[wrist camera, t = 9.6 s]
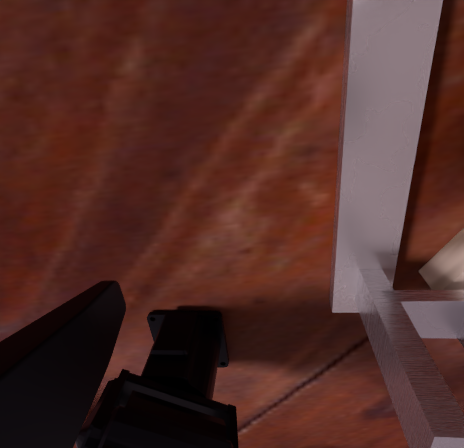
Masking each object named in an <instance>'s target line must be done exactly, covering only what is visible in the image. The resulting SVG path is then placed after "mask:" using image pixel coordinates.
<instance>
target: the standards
mask: <svg viewBox="0 0 464 448" xmlns="http://www.w3.org/2000/svg"><path fill="white" fill-rule="evenodd" d="M442 3H443V0H347V14H346V31H345V48H344V64H343V81H342V98H341V115H340V131H339V148H338V165H337V181H336V198H335V215H334V231H333V248H332V265H331V281H330V298H329V303H330V306H331V310H332V313H359V314H360V316H361V319H362V322H363V324H364V327H365V330H366V333H367V335H368V338H369V341H370V343H371V346H372V349H373V351H374V354H375V357H376V359H377V362H378V365H379V367H380V370H381V373H382V375H383V378H384V381H385V383H386V386H387V389H388V391H389V394H390V397H391V400H392V402H393V405H394V408H395V410H396V413H397V416H398V418H399V421H400V424H401V426H402V429H403V432H404V434H405V437H406V440H407V442H408V445H409V448H464V414H463V412H462V410H461V408H460V407H459V405H458V403H457V401H456V399H455V398H454V396H453V394H452V392H451V391H450V389H449V387H448V385H447V384H446V382H445V380H444V378H443V376H442V375H441V373H440V371H439V369H438V368H437V366H436V364H435V362H434V360H433V359H432V357H431V355H430V353H429V352H428V350H427V348H426V346H425V344H424V343H423V341H422V339H421V338H457V339H458V340H459V341H460V343H461V344H462V346H463V347H464V290H396V291H394V289H393V288H392V286H393V280H394V275H395V269H396V264H397V258H398V252H399V247H400V241H401V235H402V230H403V224H404V218H405V213H406V207H407V201H408V196H409V190H410V184H411V179H412V173H413V167H414V162H415V156H416V150H417V145H418V139H419V133H420V128H421V122H422V116H423V111H424V105H425V99H426V94H427V88H428V83H429V77H430V71H431V66H432V60H433V54H434V49H435V43H436V37H437V32H438V26H439V20H440V15H441V9H442Z"/></svg>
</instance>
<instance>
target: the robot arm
mask: <svg viewBox="0 0 464 448" xmlns="http://www.w3.org/2000/svg"><path fill="white" fill-rule="evenodd" d="M125 311H126V304H125V300H124V297H123V294H122V291H121V288H120V285H119V283H118V282H117V281H101V282H99V283H97V284H96V285H94V286H92V287H91V288H89V289H87V290H86V291H84V292H82V293H81V294H79V295H77V296H76V297H74V298H72V299H71V300H69V301H67V302H66V303H64V304H62V305H61V306H59V307H57V308H56V309H54V310H52V311H51V312H49V313H47V314H46V315H44V316H42V317H41V318H39V319H37V320H36V321H34V322H32V323H31V324H29V325H27V326H26V327H24V328H23V329H21V330H19V331H18V332H16V333H14V334H13V335H11V336H9V337H8V338H6V339H4V340H3V341H1V342H0V448H73V446H74V444H75V442H76V446H77V448H238V433H237V416H236V406H233V405H230V404H228V405H226V404H223V403H220V402H217V401H214V400H212V398H213V392H214V386H215V379H216V373H217V367H227V366H228V363H229V358H228V351H227V345H226V338H225V331H224V325H223V318H222V314H221V313H220V312H218V311H153V312H150V313H149V314H148V317H147V320H148V324H149V327H150V330H151V334H152V337H153V340H154V344H153V346H152V349H151V352H150V354H149V357H148V359H147V362H146V364H145V367H144V369H143V372H142V374H141V376H138V375H135V374H132V373H129V372H130V371H128V370H125V369H122V371H121V373H120V375H119V377H118V378H115V379H114V380H111V381H108V383H107V385H106V387H105V389H104V391H103V393H102V395H101V397H100V399H99V401H98V403H97V404H96V406H95V408H94V409H93V411H92V412H91V414H90V415H89V417H88V418H87V420H86V421H85V418H86V416H87V414H88V411H89V409H90V407H91V404H92V402H93V400H94V398H95V395H96V393H97V391H98V388H99V386H100V384H101V381H102V379H103V377H104V374H105V372H106V369H107V367H108V365H109V362H110V359H111V356H112V353H113V350H114V347H115V343H116V340H117V337H118V334H119V331H120V328H121V324H122V321H123V318H124V315H125ZM153 317H154V318H153ZM215 317H217V318H215ZM84 421H85V423H84ZM83 423H84V425H83ZM82 425H83V426H82Z"/></svg>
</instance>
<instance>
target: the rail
mask: <svg viewBox="0 0 464 448" xmlns="http://www.w3.org/2000/svg"><path fill="white" fill-rule="evenodd" d="M418 272H419V273H420V274H421V276H422V277H423V278H424V280H425V281H426V283H427V284H428V285H429V287H430V288H431V289H432V290H464V228H463V229H462V230H461V231H460V232H459V233H458V234H457V235H456V236H455V237H454V238H453V239H452V240H451V241H450V242H448V243H447V244H446V245H445V246H444V247H443V248H442V249H441V250H440V251H439V252H438V253H437V254H436V255H435V256H434V257H433V258H432V259H431V260H430V261H428V262H427V263H426V264H425V265H424V266H423V267H422V268H421V269H420V270H419V271H418Z"/></svg>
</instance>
